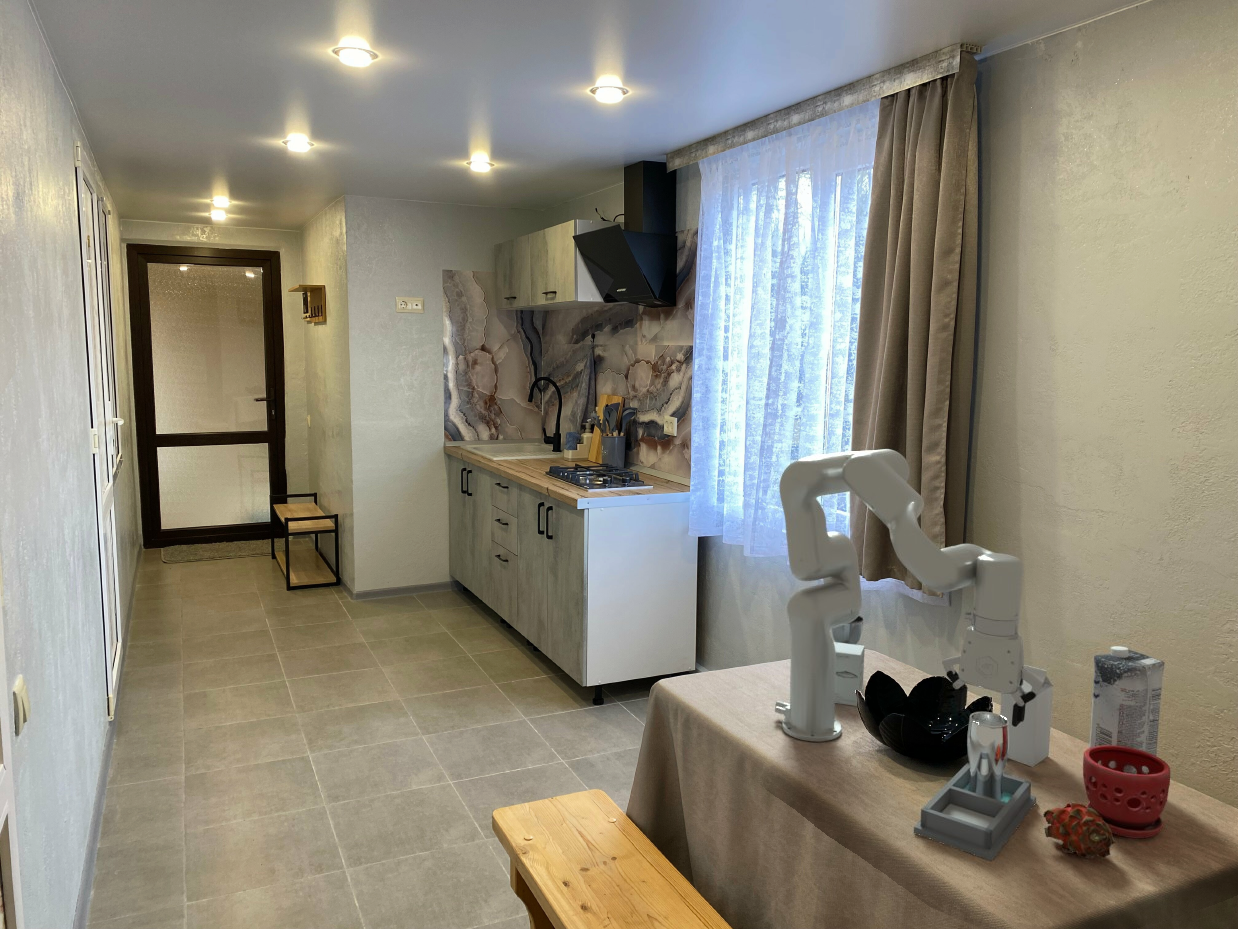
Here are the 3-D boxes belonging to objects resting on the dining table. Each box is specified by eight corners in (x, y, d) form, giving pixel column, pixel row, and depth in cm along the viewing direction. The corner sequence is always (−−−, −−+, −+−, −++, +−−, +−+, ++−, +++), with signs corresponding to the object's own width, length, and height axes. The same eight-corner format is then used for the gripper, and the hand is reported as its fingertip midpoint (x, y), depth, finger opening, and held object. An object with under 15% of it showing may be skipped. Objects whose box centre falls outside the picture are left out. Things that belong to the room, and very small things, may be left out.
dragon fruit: (1110, 882, 142) (1045, 855, 153) (1136, 840, 145) (1070, 816, 156) (1086, 847, 140) (1021, 821, 151) (1112, 805, 143) (1047, 783, 154)
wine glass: (830, 680, 223) (831, 622, 221) (828, 668, 231) (829, 612, 229) (863, 682, 222) (864, 623, 220) (860, 670, 230) (861, 613, 228)
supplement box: (826, 703, 209) (828, 650, 208) (832, 691, 216) (833, 640, 214) (859, 707, 207) (861, 654, 205) (863, 696, 213) (865, 644, 212)
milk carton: (1033, 767, 177) (1038, 675, 174) (997, 755, 182) (1002, 665, 180) (1048, 756, 182) (1054, 666, 179) (1014, 745, 187) (1018, 657, 184)
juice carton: (1161, 795, 166) (1172, 654, 162) (1120, 806, 162) (1131, 662, 158) (1118, 774, 174) (1127, 639, 171) (1078, 784, 170) (1087, 647, 167)
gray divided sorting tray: (913, 833, 154) (914, 810, 153) (964, 781, 172) (965, 760, 171) (991, 861, 146) (992, 837, 145) (1036, 803, 164) (1037, 781, 163)
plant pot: (1180, 829, 154) (1186, 763, 153) (1139, 853, 148) (1144, 784, 146) (1105, 797, 165) (1110, 735, 164) (1064, 818, 158) (1068, 753, 157)
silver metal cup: (1009, 809, 159) (1014, 728, 157) (968, 805, 160) (972, 725, 158) (1001, 790, 165) (1005, 712, 163) (961, 787, 167) (965, 709, 165)
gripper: (938, 618, 161) (932, 709, 164) (1041, 641, 150) (1032, 738, 153) (954, 608, 167) (948, 696, 169) (1054, 630, 155) (1045, 723, 158)
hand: (988, 716), depth 161 cm, fingers open, 9 cm apart
